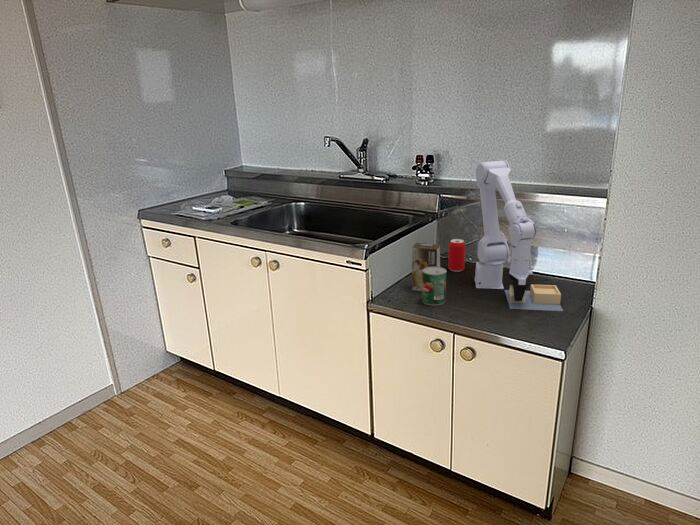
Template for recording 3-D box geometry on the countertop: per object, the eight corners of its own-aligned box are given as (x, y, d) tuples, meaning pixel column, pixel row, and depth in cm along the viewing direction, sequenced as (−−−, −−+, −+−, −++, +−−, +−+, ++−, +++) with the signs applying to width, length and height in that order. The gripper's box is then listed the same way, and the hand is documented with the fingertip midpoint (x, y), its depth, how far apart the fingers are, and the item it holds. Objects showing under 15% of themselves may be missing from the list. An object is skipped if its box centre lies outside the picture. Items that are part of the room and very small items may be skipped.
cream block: (510, 302, 159) (511, 290, 158) (508, 297, 164) (509, 284, 162) (525, 303, 159) (526, 290, 157) (523, 298, 163) (524, 285, 161)
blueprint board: (509, 310, 155) (510, 298, 154) (504, 291, 170) (505, 280, 169) (563, 312, 152) (564, 300, 151) (552, 293, 167) (554, 282, 166)
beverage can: (463, 267, 195) (464, 238, 191) (465, 272, 189) (466, 242, 185) (447, 267, 196) (448, 238, 192) (448, 272, 190) (449, 243, 186)
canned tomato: (417, 301, 164) (417, 270, 161) (431, 294, 170) (431, 264, 166) (436, 307, 159) (437, 276, 156) (450, 300, 164) (451, 269, 161)
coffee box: (440, 286, 176) (441, 244, 171) (436, 293, 171) (437, 249, 165) (415, 284, 180) (416, 242, 174) (411, 290, 174) (411, 247, 169)
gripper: (537, 266, 149) (533, 307, 153) (529, 251, 162) (526, 289, 167) (513, 265, 150) (510, 306, 154) (507, 251, 164) (505, 289, 168)
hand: (517, 297), depth 161 cm, fingers closed on cream block, 4 cm apart
